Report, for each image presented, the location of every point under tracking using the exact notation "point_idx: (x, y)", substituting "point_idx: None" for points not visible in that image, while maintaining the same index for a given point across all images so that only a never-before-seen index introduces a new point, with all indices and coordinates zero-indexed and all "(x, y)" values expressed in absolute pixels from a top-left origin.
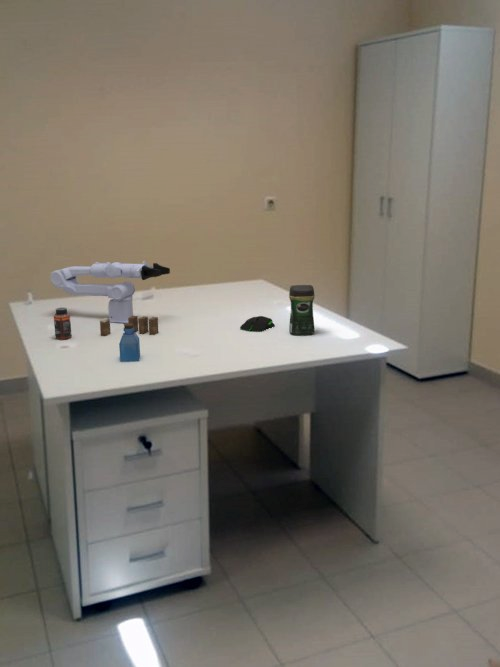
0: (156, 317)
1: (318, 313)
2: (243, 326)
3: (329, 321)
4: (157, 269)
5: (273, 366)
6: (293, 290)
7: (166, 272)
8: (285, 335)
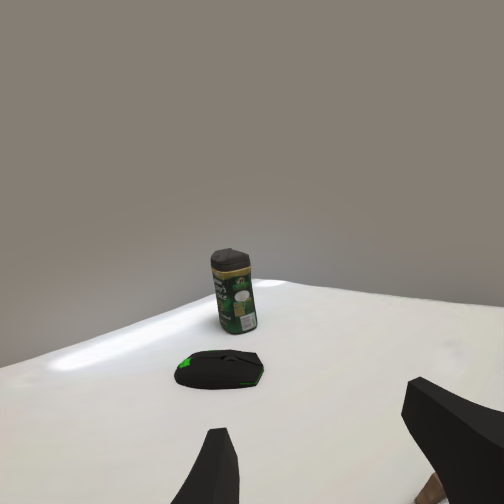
0: (436, 475)
1: (110, 338)
2: (252, 376)
3: (159, 324)
4: (429, 393)
5: (392, 295)
6: (247, 255)
7: (235, 474)
8: (261, 332)
